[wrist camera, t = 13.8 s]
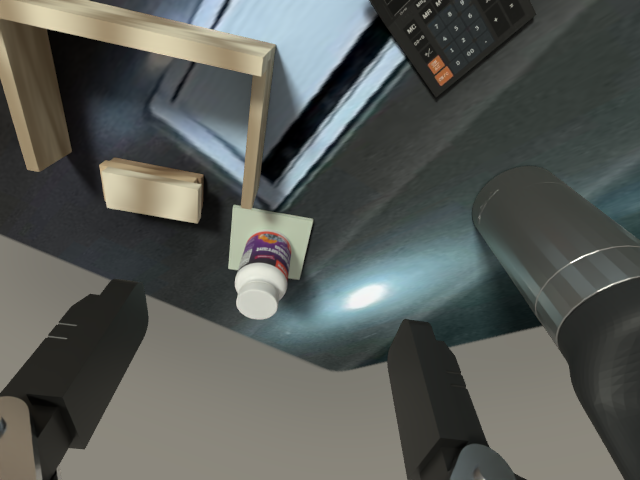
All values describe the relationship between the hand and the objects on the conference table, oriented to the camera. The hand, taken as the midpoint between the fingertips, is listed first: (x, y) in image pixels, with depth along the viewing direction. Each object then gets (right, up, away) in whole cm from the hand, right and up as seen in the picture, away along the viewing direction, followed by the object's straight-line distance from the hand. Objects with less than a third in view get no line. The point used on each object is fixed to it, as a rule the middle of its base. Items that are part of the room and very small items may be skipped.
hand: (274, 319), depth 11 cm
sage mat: (-5, +2, +31) cm, 31 cm away
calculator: (+12, +22, +17) cm, 30 cm away
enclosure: (-14, +15, +22) cm, 30 cm away
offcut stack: (-16, +9, +27) cm, 32 cm away
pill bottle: (-5, +2, +31) cm, 31 cm away
